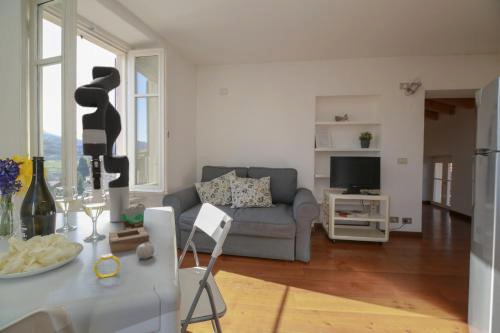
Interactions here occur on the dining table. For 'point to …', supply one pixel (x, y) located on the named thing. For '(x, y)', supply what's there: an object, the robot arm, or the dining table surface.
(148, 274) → the dining table surface
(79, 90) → the robot arm
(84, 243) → the dining table surface
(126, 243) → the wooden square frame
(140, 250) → the garlic
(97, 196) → the white faceted vase
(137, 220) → the food container
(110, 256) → the watch
